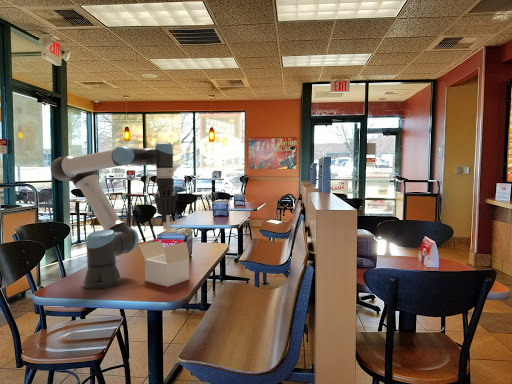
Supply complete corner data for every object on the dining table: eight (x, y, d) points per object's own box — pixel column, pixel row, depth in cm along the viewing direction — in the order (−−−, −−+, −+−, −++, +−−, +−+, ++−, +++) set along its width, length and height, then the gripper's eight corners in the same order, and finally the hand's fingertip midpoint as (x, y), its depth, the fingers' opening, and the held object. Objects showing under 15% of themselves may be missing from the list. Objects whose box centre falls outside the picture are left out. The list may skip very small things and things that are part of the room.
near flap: (167, 263, 154) (168, 263, 153) (163, 246, 154) (164, 246, 154) (188, 257, 164) (189, 257, 164) (185, 241, 165) (186, 241, 164)
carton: (167, 286, 154) (166, 263, 154) (145, 280, 163) (144, 259, 162) (189, 279, 165) (188, 257, 164) (167, 274, 173) (166, 253, 173)
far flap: (138, 245, 164) (137, 245, 165) (145, 259, 162) (144, 259, 162) (160, 240, 175) (159, 241, 175) (166, 253, 173) (166, 254, 173)
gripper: (159, 177, 154) (160, 231, 155) (181, 177, 164) (182, 227, 166) (148, 177, 158) (149, 230, 159) (170, 177, 169) (171, 226, 170)
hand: (166, 229), depth 162 cm, fingers closed
